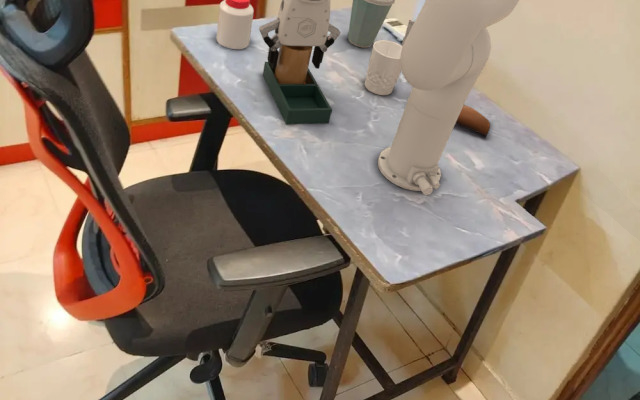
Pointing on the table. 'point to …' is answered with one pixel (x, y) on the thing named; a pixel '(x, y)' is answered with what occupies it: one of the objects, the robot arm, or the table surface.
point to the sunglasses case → (473, 120)
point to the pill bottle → (234, 23)
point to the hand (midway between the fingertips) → (294, 65)
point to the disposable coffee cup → (367, 20)
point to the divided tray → (298, 99)
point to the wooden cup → (292, 64)
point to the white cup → (383, 67)
